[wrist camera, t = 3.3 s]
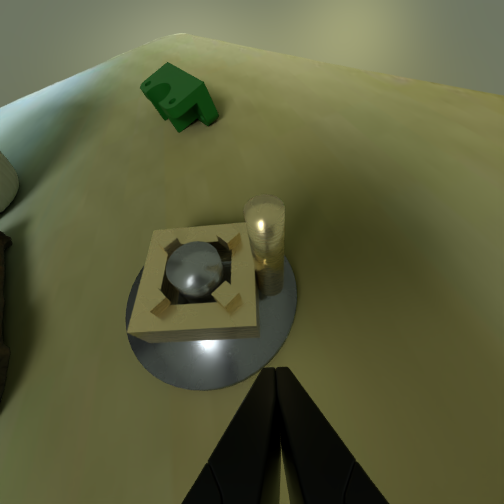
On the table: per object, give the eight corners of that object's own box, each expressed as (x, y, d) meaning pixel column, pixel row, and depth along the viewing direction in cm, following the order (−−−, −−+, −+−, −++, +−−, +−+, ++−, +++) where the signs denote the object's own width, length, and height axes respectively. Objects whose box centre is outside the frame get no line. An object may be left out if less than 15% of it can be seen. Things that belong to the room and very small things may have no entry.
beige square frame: (289, 336, 16) (295, 282, 9) (150, 343, 17) (53, 299, 10) (279, 241, 20) (277, 155, 13) (168, 250, 21) (112, 174, 14)
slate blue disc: (308, 387, 16) (320, 380, 11) (110, 393, 17) (45, 390, 12) (286, 225, 23) (287, 181, 19) (151, 237, 24) (121, 198, 20)
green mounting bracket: (177, 140, 42) (136, 88, 37) (202, 119, 42) (165, 64, 37) (192, 144, 33) (141, 74, 27) (224, 116, 33) (180, 42, 27)
